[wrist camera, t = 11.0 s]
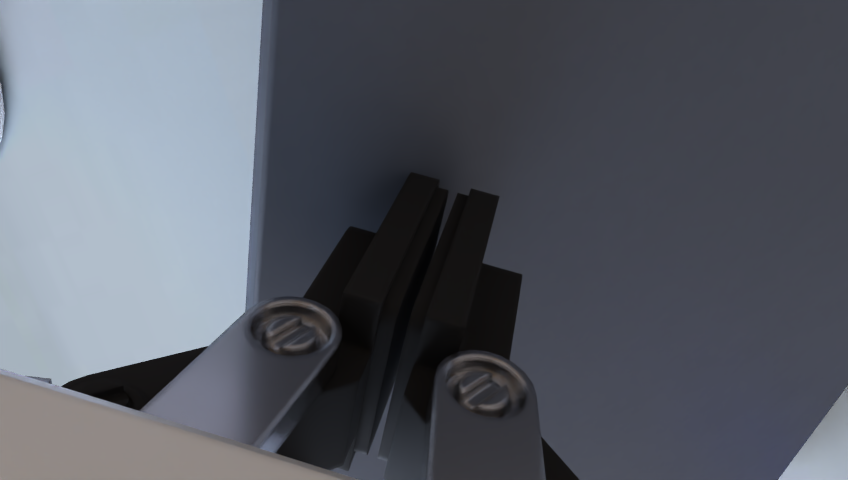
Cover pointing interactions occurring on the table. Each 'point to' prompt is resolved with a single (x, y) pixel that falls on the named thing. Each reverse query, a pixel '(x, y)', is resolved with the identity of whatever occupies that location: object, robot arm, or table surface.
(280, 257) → the laptop screen
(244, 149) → the table surface
